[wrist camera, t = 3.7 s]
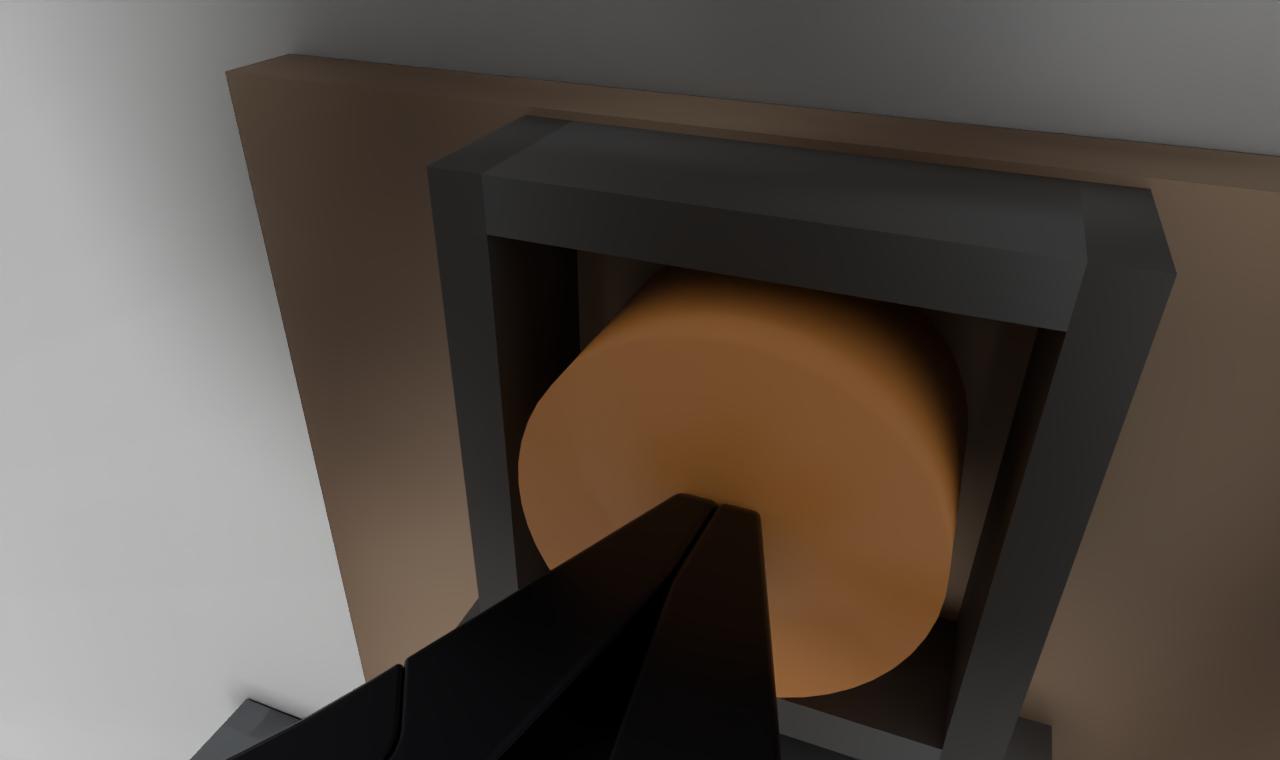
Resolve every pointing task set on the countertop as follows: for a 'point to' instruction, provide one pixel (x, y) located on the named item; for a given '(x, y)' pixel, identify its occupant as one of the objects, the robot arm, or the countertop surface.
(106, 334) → the countertop surface
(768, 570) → the button
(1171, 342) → the brown wood panel
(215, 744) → the tote
